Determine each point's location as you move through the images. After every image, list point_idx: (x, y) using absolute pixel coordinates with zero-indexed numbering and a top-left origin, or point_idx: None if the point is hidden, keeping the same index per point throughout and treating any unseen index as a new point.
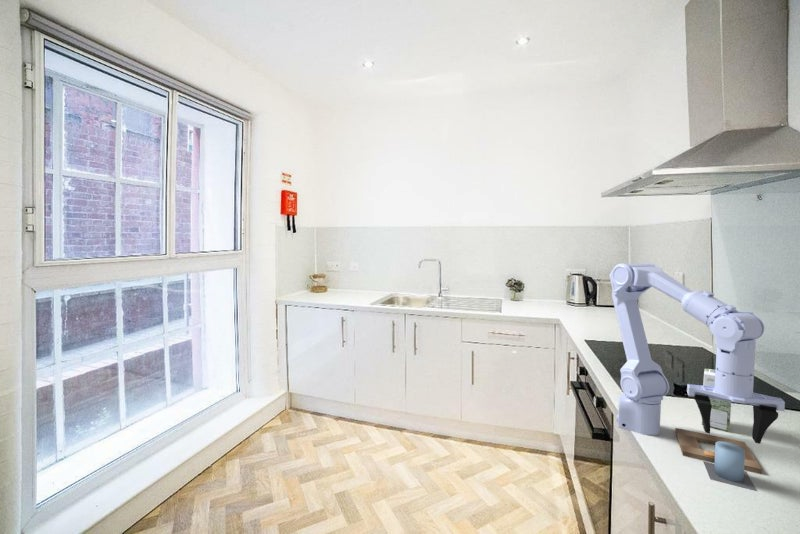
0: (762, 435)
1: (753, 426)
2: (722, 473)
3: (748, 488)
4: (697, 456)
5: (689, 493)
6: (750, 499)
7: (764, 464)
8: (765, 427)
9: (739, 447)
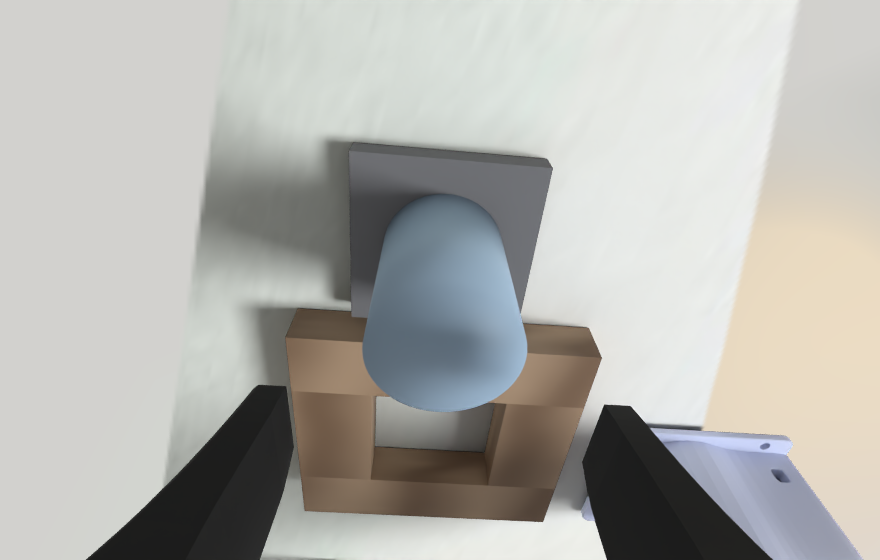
0: (208, 446)
1: (257, 554)
2: (486, 219)
3: (385, 157)
4: (538, 346)
5: None
6: (394, 91)
7: None
8: (131, 541)
9: (383, 375)
